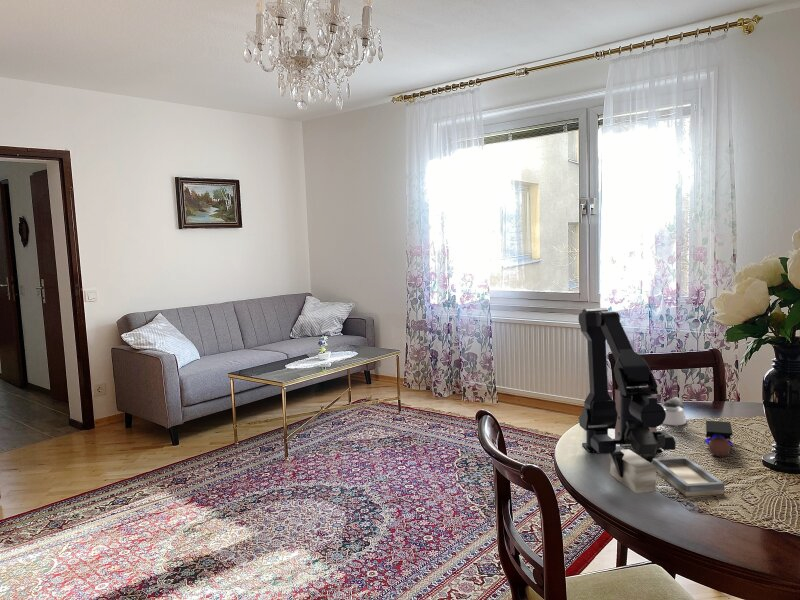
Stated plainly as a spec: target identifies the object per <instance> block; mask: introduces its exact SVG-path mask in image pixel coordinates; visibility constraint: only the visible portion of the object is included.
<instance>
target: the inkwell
mask: <svg viewBox="0 0 800 600" xmlns="http://www.w3.org/2000/svg"><path fill="white" fill-rule="evenodd" d="M661 406H662V407H663V408H664V410H665V412H666V417H665V420H664V422H663V423H662V424H661V425H665V426H666V425H667V426H682V425H685V424H686V423H687V419H686V415H685V411H684V408H685V407H684V406H685V405H684V401H683V400H682V399H681V398H680V397H677V396H675V397H672V398H670V399H667V400H666V401H665V402H664V403H663V404H662V405H661Z"/></svg>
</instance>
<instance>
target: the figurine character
mask: <svg viewBox="0 0 800 600" xmlns="http://www.w3.org/2000/svg"><path fill="white" fill-rule="evenodd" d="M705 429H706V430H705V433H706V434H705V436H706V437H705V438H704V443H707V445H708V448H709V451H710V452H711V454H713V456H716V457H720V456H721V457H725V456H727V455H728V454H730V452H731V447H732V445H733V444H734V443H733V442H732V441H731V439H732V438H731V436H733V435H734V433H733V428H732V423H731V421H722V420H721V421H720V420H719V421H717V420H705Z"/></svg>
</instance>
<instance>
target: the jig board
mask: <svg viewBox="0 0 800 600" xmlns="http://www.w3.org/2000/svg"><path fill="white" fill-rule="evenodd" d="M651 463H652V464H654V465H655V466H656V474H657V473H658V474H659V475H660V477H662V478H663V479H664V480H666V481H667V482H668V483H669V484H670V485H671V486H673V487H674V488H675V489H677V490H678V491H679V492H680V493H681V494H682V495H684V496H685V497H697V496H711V495H724V494H725V482H723V481H722V480H721V479H719V478H717V477H716V476H715V475H713V474H712V473H711V472H709V471H707V470H706V469H704V468H703V467H702V466H700V465H699V464H698V463H696V462H695V461H693V460H692V459H691V458H689V457H687V456H680V457H677V456H676V457H662V458H661V457H660V458H653V460H652V462H651Z"/></svg>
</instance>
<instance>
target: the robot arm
mask: <svg viewBox="0 0 800 600" xmlns="http://www.w3.org/2000/svg"><path fill="white" fill-rule="evenodd" d="M577 319H578V324H579V326H580V332H581V333H582V334H583V336H584V337H585V339H586V340H587V356H588V357H587V359H588V376H589V377H588V378H589V381H588V382H589V393H588V395H587V396H586V398H585V400H584V402H583V404H584V405H583V410H582V411H581V413H580V415H579V417H578V423H579V427H581V429H583V430H584V431H585V432H586V434H585V435H586V437H585V438H586V442H582V443H581V445H582V447H583V448H584V449H586V451H587V452H589V453H591V454H595V453H596V454H597V453H598V454H601V455H606V454H609V455H610V458H611V457H612V459H613V461H614V464H615V466H616V469H617V471H618V474H619V476H620V477H623V461H622V458H623V456H624V453H622V452H621V450H622V448H623V447H632V449H633V452H634V453H636V454H637V455H639V456H640V457H642V458H644V459H645V460H647V461H649V462H650V463H652V460H653V459H655V457H656V456H657V455H659V454H662V453H663V452H664V451H671V450H673V451H674V450H676V444H677V443H676V442H677V441H676V439H675V437H673V436H671V435H670V434H669V433H667V432H666V431H664V430H661V431H660V430H658V431H657V430H656V431H650V430H649V427H650V428H655V427H656V428H658V427H660V426H661V425H663V424H662V423H663V422H664V420H665V417H666V412H665V410H664V408H663V407H662V406H663V405H661V404H660V403H658V397H657V398H656V397H655V396H651V395H652V394H654V395H658V394H659V391H658V384H657V382H656V379H655V377H654V374H653V372H652V368H651V367H650V366H649V364H648V362H647V361H646V360H645V358H644V357H643V356H641V355H640V354H638V353H637V352H635V349H634V348H633V346H632V344H631V342H630V340H629V337H628V336H627V333H626V332H625V329H624V327H623V325H622V323H621V321H620V320H621V318H620V314H619V312H618V311H615V310H612V311H611V310H609V309H608V308H607V307H597V308H595V307H594V308H584V309H582V311H581V312H580V313H579V314H578V318H577ZM607 346H608V347H609V349H610V352H611V354H612V357H613V359H614V362H615V364H614V367H613V373H614V378H615V382H616V384H617V386H618V388H617V390H618V391H620V415H618V413H617V411H616V403H615V399H612V397H611V396H610V394H609V389H608V387H609V386H608V367H607V366H608V362H607ZM617 416H618V419H619V420H620V431H618V435H619V436H620V438H618V439H615V438H612V437H610V436H609V430H610V429H611V430H615V426H616V422H617Z"/></svg>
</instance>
